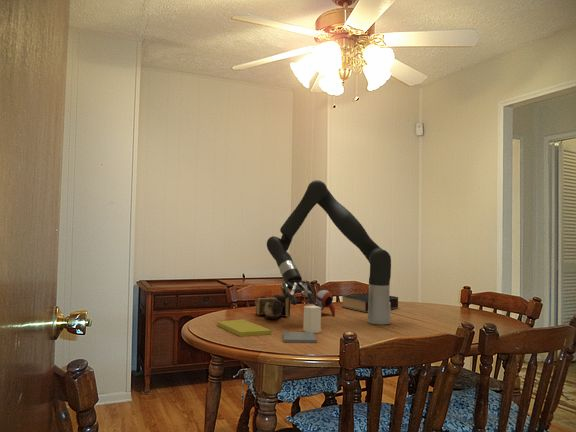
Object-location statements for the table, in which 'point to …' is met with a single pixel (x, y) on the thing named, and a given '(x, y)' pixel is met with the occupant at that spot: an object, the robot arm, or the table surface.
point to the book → (363, 302)
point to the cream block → (312, 319)
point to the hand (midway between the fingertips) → (304, 303)
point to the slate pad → (299, 337)
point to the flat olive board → (243, 328)
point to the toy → (324, 301)
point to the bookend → (273, 306)
